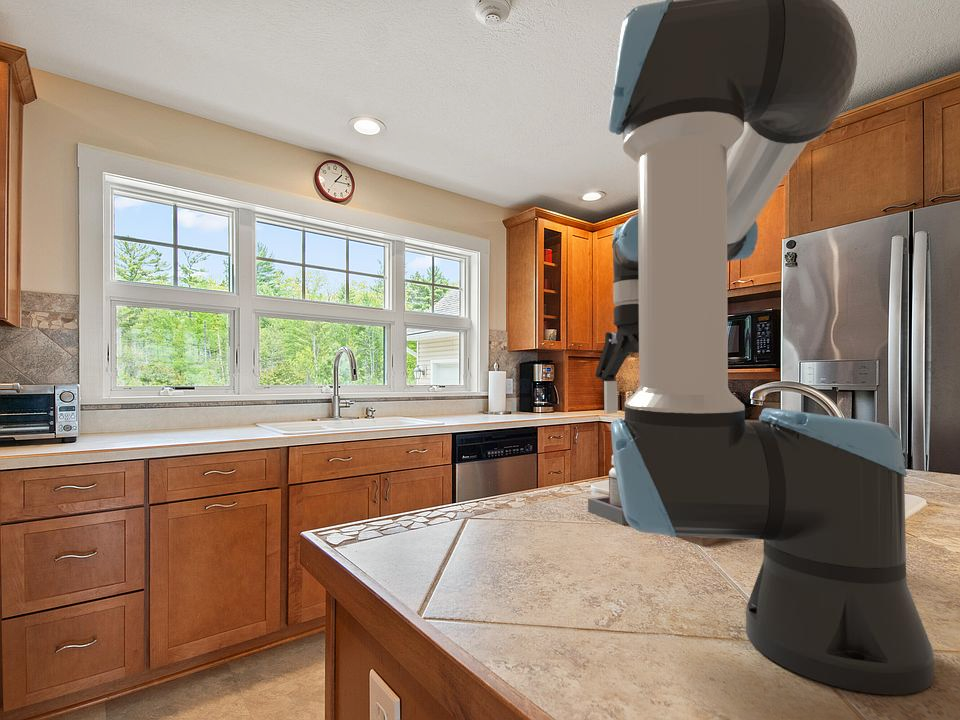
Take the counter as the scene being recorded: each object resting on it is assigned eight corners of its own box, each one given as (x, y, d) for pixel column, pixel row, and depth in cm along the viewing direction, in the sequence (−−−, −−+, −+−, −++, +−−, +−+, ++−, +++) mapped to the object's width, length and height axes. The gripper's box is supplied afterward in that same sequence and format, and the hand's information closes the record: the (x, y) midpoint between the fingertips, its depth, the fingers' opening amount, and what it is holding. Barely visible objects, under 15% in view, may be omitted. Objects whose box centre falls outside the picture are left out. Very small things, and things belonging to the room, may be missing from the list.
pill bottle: (621, 509, 104) (621, 452, 104) (648, 515, 99) (648, 456, 100) (602, 514, 100) (602, 455, 100) (630, 521, 95) (629, 459, 96)
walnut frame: (702, 545, 81) (702, 538, 81) (650, 527, 91) (650, 520, 91) (749, 536, 86) (749, 529, 86) (696, 519, 96) (696, 513, 96)
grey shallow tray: (622, 524, 93) (622, 510, 93) (588, 511, 102) (588, 498, 102) (702, 511, 102) (701, 498, 102) (663, 500, 111) (663, 488, 111)
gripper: (700, 297, 91) (702, 418, 90) (605, 313, 113) (606, 411, 112) (669, 294, 87) (670, 420, 86) (578, 311, 109) (578, 412, 109)
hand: (634, 415), depth 99 cm, fingers open, 13 cm apart
